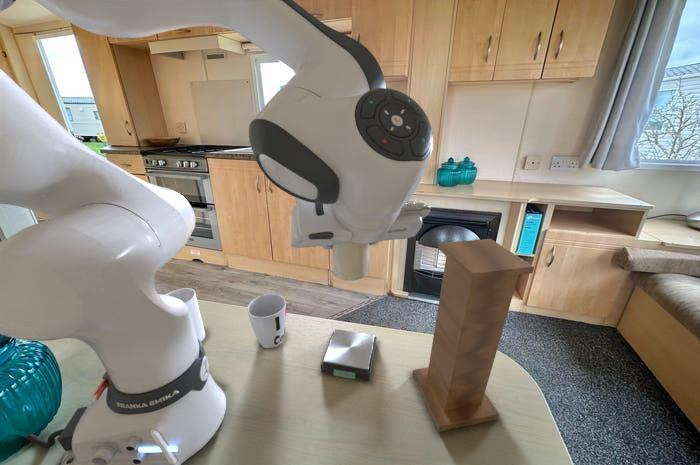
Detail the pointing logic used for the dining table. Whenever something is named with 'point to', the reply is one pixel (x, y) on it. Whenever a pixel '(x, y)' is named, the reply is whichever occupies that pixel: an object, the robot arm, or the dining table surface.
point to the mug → (191, 308)
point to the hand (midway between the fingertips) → (349, 243)
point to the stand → (468, 331)
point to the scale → (349, 355)
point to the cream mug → (350, 261)
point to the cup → (268, 319)
